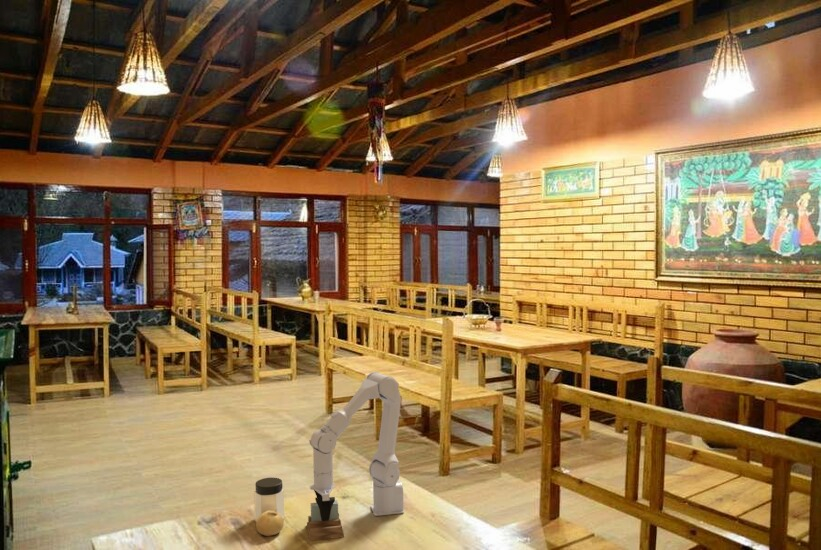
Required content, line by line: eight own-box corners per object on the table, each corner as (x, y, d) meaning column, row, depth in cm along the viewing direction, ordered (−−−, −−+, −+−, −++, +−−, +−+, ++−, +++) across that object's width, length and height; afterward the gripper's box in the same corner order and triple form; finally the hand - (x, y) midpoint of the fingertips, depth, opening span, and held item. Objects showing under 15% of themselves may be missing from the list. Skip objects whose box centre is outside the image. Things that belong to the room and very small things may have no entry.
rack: (339, 521, 199) (339, 512, 199) (344, 536, 189) (343, 526, 189) (307, 525, 197) (306, 515, 197) (309, 540, 187) (309, 530, 187)
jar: (288, 520, 200) (287, 482, 200) (264, 528, 195) (263, 489, 194) (274, 511, 207) (274, 474, 206) (251, 518, 202) (250, 481, 201)
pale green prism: (337, 521, 197) (337, 500, 197) (338, 524, 195) (338, 503, 194) (310, 524, 195) (310, 503, 195) (311, 527, 193) (311, 506, 193)
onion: (256, 540, 187) (256, 516, 187) (255, 528, 195) (255, 505, 195) (284, 537, 190) (284, 513, 189) (282, 525, 197) (282, 502, 197)
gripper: (308, 463, 200) (309, 506, 201) (311, 480, 186) (312, 526, 187) (330, 461, 202) (331, 504, 203) (336, 478, 188) (337, 524, 189)
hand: (324, 515), depth 195 cm, fingers open, 7 cm apart
